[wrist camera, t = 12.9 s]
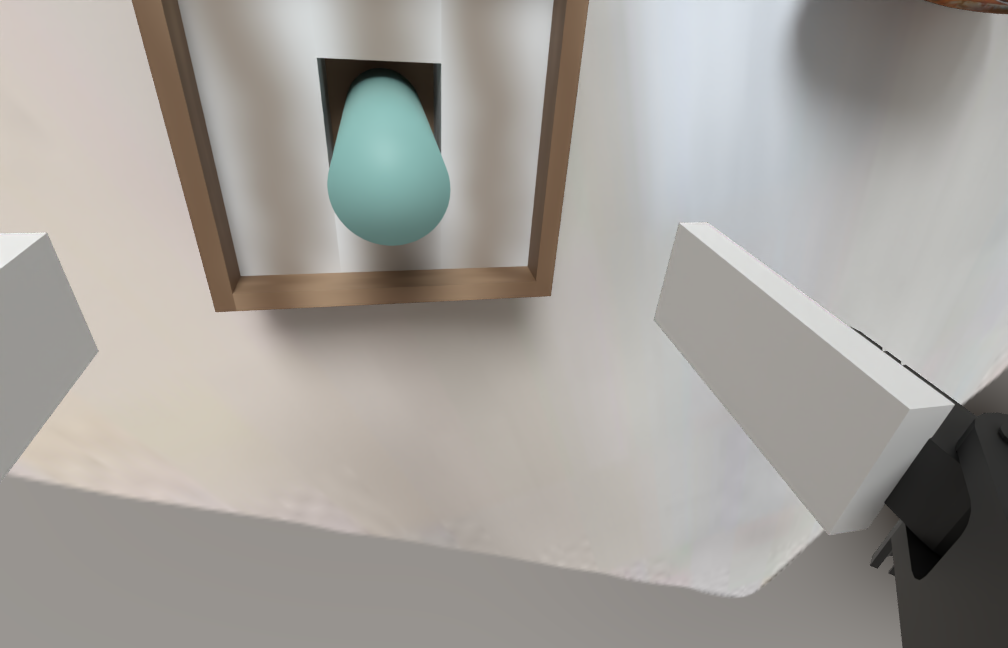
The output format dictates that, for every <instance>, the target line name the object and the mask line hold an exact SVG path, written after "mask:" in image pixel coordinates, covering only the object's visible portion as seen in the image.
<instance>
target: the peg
mask: <svg viewBox="0 0 1008 648" xmlns="http://www.w3.org/2000/svg"><path fill="white" fill-rule="evenodd" d="M327 188H328V195H329V199H330V202H331V206H332V208H333V210H334V212H335V214H336V215H337V217H338V218H339V220H340V221H341V222H342V223H343V224H344V226H346V227H347V228H348V229H349V230H350V231H351V232H353V233H354V234H355V235H357V236H359V237H360V238H362V239H364V240H367V241H369V242H372V243H375V244H380V245H387V246H396V245H404V244H408V243H411V242H414V241H417V240H419V239H421V238H423V237H424V236H426V235H427V234H429V233H430V232H431V231H432V230H433V229H434V228H435V227H436V226H437V225H438V224H439V223H440V221H441V220H442V218H443V216H444V214H445V212H446V210H447V207H448V204H449V200H450V191H451V190H450V179H449V174H448V171H447V168H446V166H445V163H444V161H443V158H442V156H441V153H440V150H439V148H438V145H437V143H436V140H435V138H434V135H433V133H432V130H431V128H430V125H429V122H428V120H427V117H426V115H425V112H424V110H423V107H422V105H421V102H420V100H419V97H418V94H417V92H416V90H415V88H414V87H413V85H412V84H411V83H410V82H409V80H408V79H406V78H405V77H404V76H403V75H401V74H400V73H398V72H396V71H394V70H391V69H387V68H374V69H370V70H367V71H365V72H363V73H361V74H360V75H359V76H358V77H356V78H355V80H354V81H353V82H352V84H351V86H350V87H349V90H348V93H347V97H346V101H345V105H344V110H343V114H342V118H341V122H340V126H339V131H338V135H337V139H336V143H335V147H334V151H333V156H332V160H331V164H330V168H329V172H328V180H327Z"/></svg>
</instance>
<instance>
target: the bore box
mask: <svg viewBox="0 0 1008 648" xmlns="http://www.w3.org/2000/svg"><path fill="white" fill-rule="evenodd" d="M132 3H133V7H134V10H135V14H136V18H137V22H138V25H139V29H140V33H141V36H142V40H143V44H144V48H145V51H146V55H147V59H148V62H149V66H150V70H151V74H152V77H153V81H154V85H155V88H156V92H157V96H158V100H159V103H160V107H161V111H162V114H163V118H164V122H165V126H166V129H167V133H168V137H169V140H170V144H171V148H172V152H173V155H174V159H175V163H176V167H177V170H178V174H179V178H180V181H181V185H182V189H183V193H184V196H185V200H186V204H187V207H188V211H189V215H190V219H191V222H192V226H193V230H194V233H195V237H196V241H197V245H198V248H199V252H200V256H201V259H202V263H203V267H204V271H205V274H206V278H207V282H208V285H209V289H210V293H211V297H212V300H213V304H214V308H215V311H216V312H228V311H249V310H270V309H291V308H312V307H333V306H353V305H374V304H395V303H416V302H437V301H458V300H479V299H500V298H521V297H542V296H551V290H552V282H553V275H554V267H555V259H556V252H557V244H558V236H559V228H560V221H561V213H562V205H563V197H564V190H565V182H566V174H567V166H568V159H569V151H570V143H571V135H572V128H573V120H574V112H575V105H576V97H577V89H578V81H579V74H580V66H581V58H582V50H583V43H584V35H585V27H586V19H587V12H588V4H589V0H132ZM374 68H387V69H391V70H394V71H396V72H398V73H400V74H401V75H403V76H404V77H405V78H406V79H408V80H409V82H410V83H411V84H412V85H413V87H414V88H415V90H416V92H417V94H418V97H419V100H420V102H421V105H422V107H423V110H424V112H425V115H426V117H427V120H428V122H429V125H430V128H431V130H432V133H433V135H434V138H435V140H436V143H437V145H438V148H439V150H440V153H441V156H442V158H443V161H444V163H445V166H446V168H447V171H448V174H449V179H450V190H451V191H450V200H449V204H448V207H447V210H446V212H445V214H444V216H443V218H442V220H441V221H440V223H439V224H438V225H437V226H436V227H435V228H434V229H433V230H432V231H431V232H430V233H429V234H427V235H426V236H424V237H423V238H421V239H419V240H417V241H414V242H411V243H408V244H404V245H396V246H387V245H380V244H375V243H372V242H369V241H367V240H364V239H362V238H360V237H359V236H357V235H355V234H354V233H353V232H351V231H350V230H349V229H348V228H347V227H346V226H344V224H343V223H342V222H341V221H340V220H339V218H338V217H337V215H336V214H335V212H334V210H333V208H332V206H331V202H330V199H329V195H328V188H327V180H328V172H329V168H330V164H331V160H332V156H333V151H334V147H335V143H336V139H337V135H338V131H339V126H340V122H341V118H342V114H343V110H344V105H345V101H346V97H347V93H348V90H349V87H350V86H351V84H352V82H353V81H354V80H355V78H356V77H358V76H359V75H360V74H361V73H363V72H365V71H367V70H370V69H374Z"/></svg>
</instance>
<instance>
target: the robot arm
mask: <svg viewBox="0 0 1008 648" xmlns="http://www.w3.org/2000/svg"><path fill="white" fill-rule="evenodd" d="M654 321H655V322H656V323H657V324H658V326H659V327H660V328H661V329H662V331H663V332H664V333H665V334H666V336H667V337H668V338H669V339H670V340H671V342H672V343H673V344H674V345H675V347H676V348H677V349H678V350H679V352H680V353H681V354H682V355H683V356H684V358H685V359H686V360H687V361H688V363H689V364H690V365H691V366H692V368H693V369H694V370H695V371H696V372H697V374H698V375H699V376H700V377H701V379H702V380H703V381H704V382H705V384H706V385H707V386H708V387H709V388H710V390H711V391H712V392H713V393H714V395H715V396H716V397H717V398H718V400H719V401H720V402H721V403H722V404H723V406H724V407H725V408H726V409H727V411H728V412H729V413H730V414H731V416H732V417H733V418H734V419H735V420H736V422H737V423H738V424H739V425H740V427H741V428H742V429H743V430H744V432H745V433H746V434H747V435H748V436H749V438H750V439H751V440H752V441H753V443H754V444H755V445H756V446H757V448H758V449H759V450H760V451H761V452H762V454H763V455H764V456H765V457H766V459H767V460H768V461H769V462H770V464H771V465H772V466H773V467H774V468H775V470H776V471H777V472H778V473H779V475H780V476H781V477H782V478H783V480H784V481H785V482H786V483H787V484H788V486H789V487H790V488H791V489H792V491H793V492H794V493H795V494H796V496H797V497H798V498H799V499H800V500H801V502H802V503H803V504H804V505H805V507H806V508H807V509H808V510H809V512H810V513H811V514H812V515H813V516H814V518H815V519H816V520H817V521H818V523H819V524H820V525H821V526H822V528H823V529H824V530H825V531H826V532H827V534H829V535H832V534H839V533H845V532H851V531H857V530H863V529H868V527H869V526H870V525H871V523H872V522H873V520H874V519H875V517H876V516H877V515H878V513H879V512H880V510H881V509H882V508H883V506H884V505H885V504H886V505H887V506H888V507H889V508H890V509H891V510H892V511H893V512H894V513H895V514H896V515H897V516H898V517H899V518H900V519H899V521H898V522H897V523H896V525H895V526H894V527H893V529H892V530H891V532H890V533H889V534H888V536H887V537H886V538H885V540H884V541H883V542H882V544H881V545H880V546H879V548H878V549H877V551H876V552H875V553H874V554H873V556H872V559H871V564H870V566H873V567H875V568H878V567H879V566H880V565H881V563H882V562H883V561H884V559H885V558H886V557H887V556H893V560H894V565H893V567H892V568H891V569H890V570H889V574H892V575H894V576H895V580H896V589H897V598H898V608H899V618H900V627H901V636H902V646H903V648H1008V415H1007V414H1002V413H983V414H981V415H979V416H975V415H974V414H972V413H971V412H970V411H968V410H967V409H966V408H964V407H963V406H962V405H960V404H959V403H957V402H956V401H955V400H953V399H952V398H951V397H949V396H948V395H946V394H945V393H944V392H942V391H941V390H940V389H938V388H937V387H935V386H934V385H933V384H931V383H930V382H929V381H927V380H926V379H925V378H923V377H922V376H920V375H919V374H918V373H916V372H915V371H914V370H912V369H911V368H909V367H908V366H907V365H901V361H900V360H898V359H897V358H896V357H894V356H893V355H892V354H890V353H889V352H888V351H883V350H882V347H881V346H879V345H878V344H877V343H875V342H874V341H872V340H871V339H870V338H868V337H867V336H866V335H864V334H863V333H861V332H860V331H858V330H856V329H854V328H852V327H850V326H848V325H846V324H845V323H844V322H842V321H841V320H840V319H838V318H837V317H836V316H834V315H833V314H831V313H830V312H829V311H827V310H826V309H825V308H823V307H822V306H821V305H819V304H818V303H817V302H815V301H814V300H812V299H811V298H810V297H808V296H807V295H806V294H804V293H803V292H802V291H800V290H799V289H798V288H796V287H795V286H793V285H792V284H791V283H789V282H788V281H787V280H785V279H784V278H783V277H781V276H780V275H779V274H777V273H776V272H774V271H773V270H772V269H770V268H769V267H768V266H766V265H765V264H764V263H762V262H761V261H759V260H758V259H757V258H755V257H754V256H753V255H751V254H750V253H749V252H747V251H746V250H745V249H743V248H742V247H740V246H739V245H738V244H736V243H735V242H734V241H732V240H731V239H730V238H728V237H727V236H726V235H724V234H723V233H721V232H720V231H719V230H717V229H716V228H715V227H713V226H712V225H711V224H709V223H708V222H698V223H679V225H678V229H677V232H676V236H675V240H674V244H673V248H672V252H671V255H670V259H669V263H668V267H667V271H666V274H665V278H664V282H663V286H662V290H661V294H660V297H659V301H658V305H657V309H656V313H655V316H654ZM97 353H98V349H97V346H96V344H95V342H94V339H93V337H92V335H91V333H90V330H89V328H88V326H87V323H86V321H85V319H84V316H83V314H82V312H81V310H80V307H79V305H78V303H77V300H76V298H75V296H74V293H73V291H72V289H71V287H70V284H69V282H68V280H67V277H66V275H65V273H64V271H63V268H62V266H61V264H60V261H59V259H58V257H57V254H56V252H55V250H54V248H53V245H52V243H51V241H50V238H49V236H48V234H47V233H0V483H1V481H2V480H3V479H4V477H5V476H6V475H7V473H8V472H9V471H10V469H11V468H12V467H13V465H14V464H15V463H16V461H17V460H18V459H19V457H20V456H21V455H22V453H23V452H24V451H25V449H26V448H27V447H28V445H29V444H30V443H31V441H32V440H33V438H34V437H35V436H36V434H37V433H38V432H39V430H40V429H41V428H42V426H43V425H44V424H45V422H46V421H47V420H48V418H49V417H50V416H51V414H52V413H53V412H54V410H55V409H56V408H57V406H58V405H59V404H60V402H61V401H62V400H63V398H64V397H65V396H66V394H67V393H68V392H69V390H70V389H71V387H72V386H73V385H74V383H75V382H76V381H77V379H78V378H79V377H80V375H81V374H82V373H83V371H84V370H85V369H86V367H87V366H88V365H89V363H90V362H91V361H92V359H93V358H94V357H95V355H96V354H97Z"/></svg>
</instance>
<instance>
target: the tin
mask: <svg viewBox="0 0 1008 648" xmlns="http://www.w3.org/2000/svg"><path fill="white" fill-rule="evenodd" d="M925 1H929V2H932V3H935V4H939V5H943V6H947V7H951V8H957V9H963V10H969V11H976V12H984V13H996V14H1008V0H925Z"/></svg>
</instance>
